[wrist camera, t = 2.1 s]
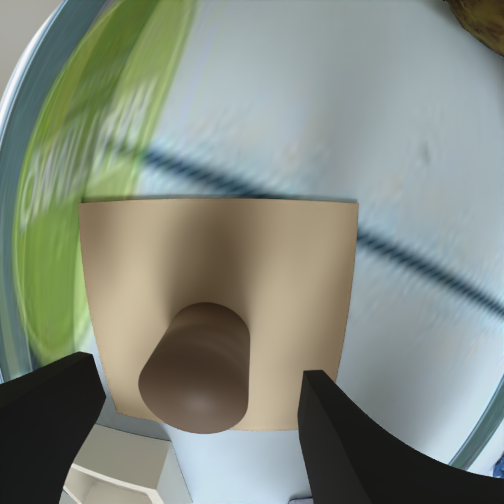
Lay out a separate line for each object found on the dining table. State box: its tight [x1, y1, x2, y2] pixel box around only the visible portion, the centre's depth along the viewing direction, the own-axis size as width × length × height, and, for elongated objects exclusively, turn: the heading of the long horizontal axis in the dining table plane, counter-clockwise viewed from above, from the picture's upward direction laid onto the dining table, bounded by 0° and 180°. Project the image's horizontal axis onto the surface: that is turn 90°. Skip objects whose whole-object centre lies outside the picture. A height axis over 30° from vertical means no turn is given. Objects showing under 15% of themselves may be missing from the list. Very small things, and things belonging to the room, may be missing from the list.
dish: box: [63, 424, 193, 504], centre depth 13 cm, size 10×10×4 cm
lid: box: [79, 198, 359, 434], centre depth 10 cm, size 12×12×5 cm
